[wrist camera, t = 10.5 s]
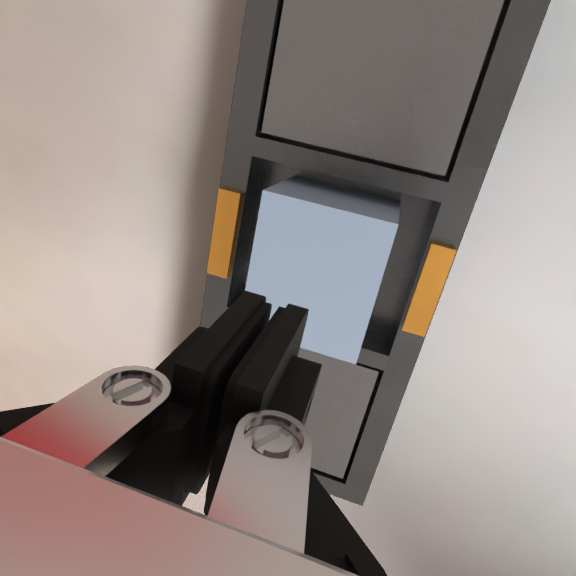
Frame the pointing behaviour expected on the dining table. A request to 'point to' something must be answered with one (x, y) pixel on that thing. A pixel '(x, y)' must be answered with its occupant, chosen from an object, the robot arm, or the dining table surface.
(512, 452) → the dining table surface
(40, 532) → the robot arm
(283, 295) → the pale blue cube
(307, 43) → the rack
